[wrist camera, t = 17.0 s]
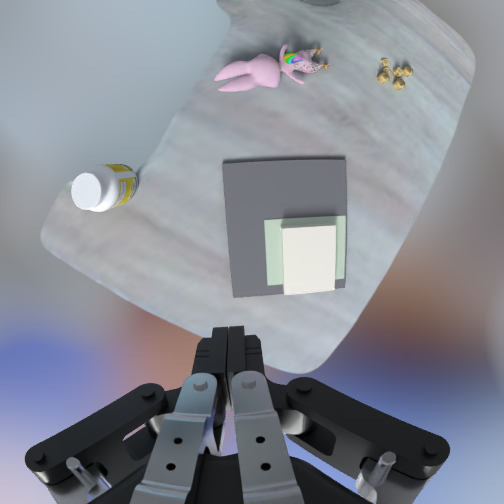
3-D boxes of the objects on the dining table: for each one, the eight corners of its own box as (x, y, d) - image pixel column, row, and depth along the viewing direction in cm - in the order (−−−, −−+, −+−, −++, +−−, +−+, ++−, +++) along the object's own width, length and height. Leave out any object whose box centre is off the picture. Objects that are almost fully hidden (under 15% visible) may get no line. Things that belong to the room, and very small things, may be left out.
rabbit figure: (308, 46, 32) (206, 69, 31) (325, 28, 26) (209, 49, 25) (325, 82, 34) (223, 110, 32) (346, 69, 28) (230, 95, 27)
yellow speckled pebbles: (407, 72, 32) (414, 69, 30) (400, 97, 34) (407, 95, 32) (380, 55, 32) (386, 51, 30) (372, 80, 33) (378, 77, 31)
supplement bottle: (98, 176, 35) (59, 181, 25) (129, 157, 34) (95, 154, 25) (113, 210, 36) (78, 224, 27) (145, 192, 36) (115, 201, 26)
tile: (335, 225, 36) (334, 290, 38) (332, 223, 37) (331, 285, 40) (282, 228, 35) (284, 295, 38) (280, 226, 37) (282, 290, 40)
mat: (222, 164, 35) (222, 164, 35) (344, 159, 35) (345, 159, 35) (233, 296, 40) (233, 298, 40) (343, 286, 40) (344, 287, 40)
